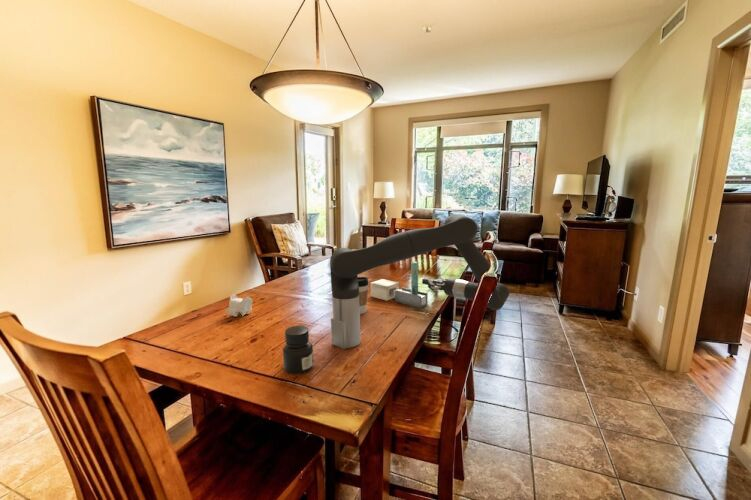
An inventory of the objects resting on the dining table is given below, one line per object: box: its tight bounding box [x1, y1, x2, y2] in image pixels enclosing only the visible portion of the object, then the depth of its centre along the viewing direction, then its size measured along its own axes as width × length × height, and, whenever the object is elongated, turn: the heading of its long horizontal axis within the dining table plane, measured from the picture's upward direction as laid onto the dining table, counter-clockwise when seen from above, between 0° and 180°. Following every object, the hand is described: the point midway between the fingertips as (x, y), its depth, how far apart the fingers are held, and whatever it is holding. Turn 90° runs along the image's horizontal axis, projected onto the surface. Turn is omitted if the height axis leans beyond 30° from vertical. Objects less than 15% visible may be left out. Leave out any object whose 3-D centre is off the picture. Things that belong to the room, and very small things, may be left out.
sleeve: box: [394, 287, 428, 309], centre depth 157 cm, size 6×14×6 cm, turn 48°
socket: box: [370, 278, 400, 301], centre depth 168 cm, size 9×10×7 cm
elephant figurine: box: [224, 293, 254, 317], centre depth 146 cm, size 10×12×9 cm
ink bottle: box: [282, 325, 315, 375], centre depth 102 cm, size 10×9×12 cm
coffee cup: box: [357, 276, 369, 315], centre depth 147 cm, size 8×8×15 cm
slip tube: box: [393, 261, 426, 305], centre depth 156 cm, size 4×16×19 cm, turn 48°
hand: (423, 280), depth 151 cm, fingers closed
